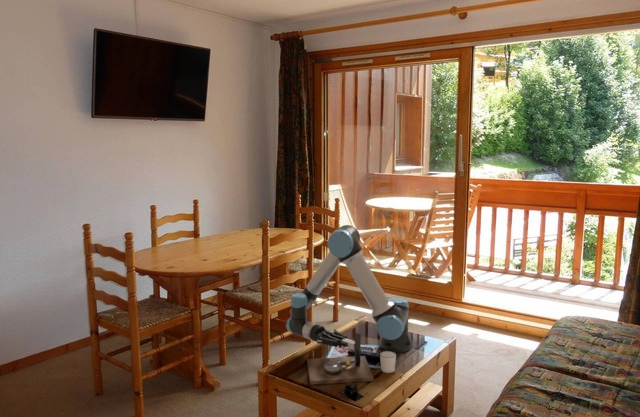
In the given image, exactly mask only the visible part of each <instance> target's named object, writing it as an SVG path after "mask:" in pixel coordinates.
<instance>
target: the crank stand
mask: <svg viewBox="0 0 640 417" xmlns="http://www.w3.org/2000/svg"><path fill="white" fill-rule="evenodd" d="M352 359H355V356H341V357H340V356H338V357H337V356H335V357H322V358H321V357H319V358H318V357H317V358H306V363H307V364H306V365H307V370H308V372H307V373H308V376H309V377H308V378H309V383H310V384H309V385H322V384H323V385H325V384H340V383H342V384H343V383H346V384H347V383H349V382H352V383H361V382H374V380H375V379H374V378H375V376H374V375H373V372H372V370H371V367H370V365H369V363H368V362H369V361H367V358H366V356H365V355H361V365H360V366H356V365H355V363H352V364H350V366H349V367H346V366H345V365H343V366H341V372H340V373H338V374H328V373H326V372H325V370H324V365H325V363H327V362H330V361H336V362H343V361H347V360H352Z"/></svg>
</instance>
